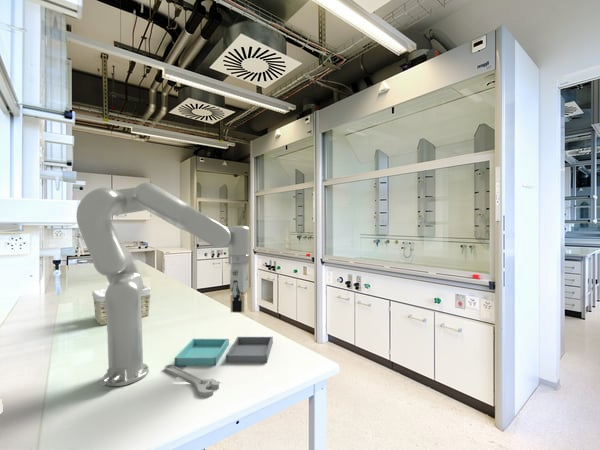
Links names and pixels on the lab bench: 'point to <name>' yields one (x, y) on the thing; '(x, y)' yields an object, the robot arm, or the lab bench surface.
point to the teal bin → (202, 352)
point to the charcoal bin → (250, 350)
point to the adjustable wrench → (194, 380)
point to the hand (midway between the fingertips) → (239, 308)
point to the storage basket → (101, 309)
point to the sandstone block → (244, 302)
